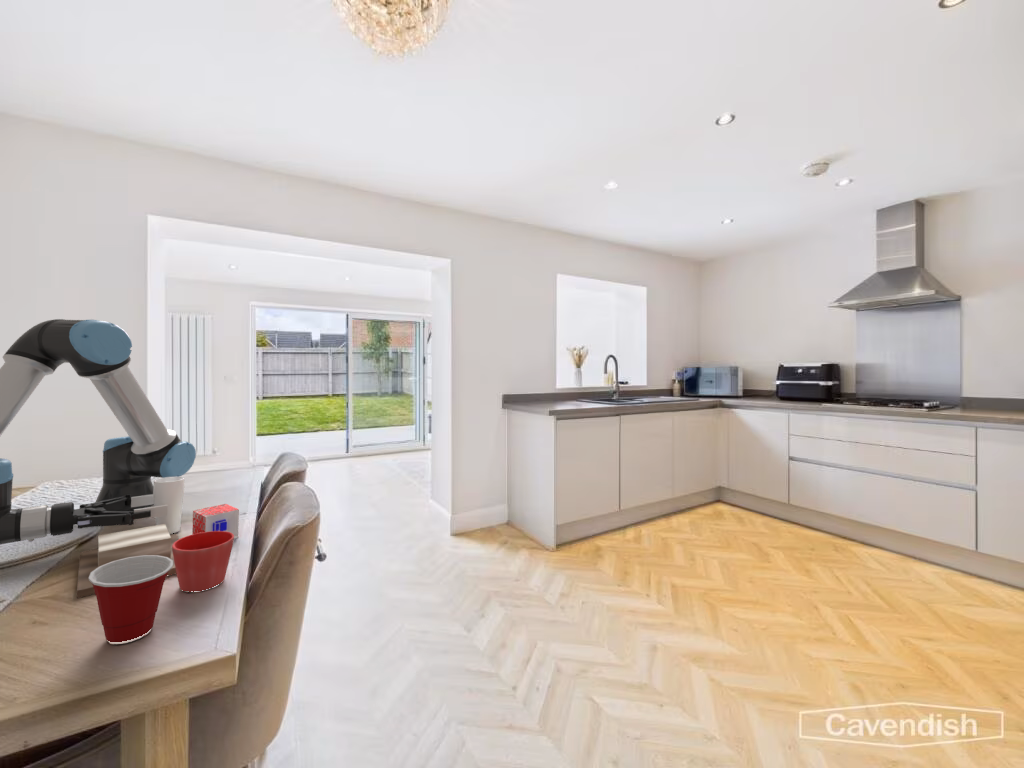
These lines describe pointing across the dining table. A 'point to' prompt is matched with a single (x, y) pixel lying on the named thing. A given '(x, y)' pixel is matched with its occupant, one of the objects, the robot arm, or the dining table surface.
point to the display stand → (124, 551)
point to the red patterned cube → (216, 519)
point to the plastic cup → (129, 594)
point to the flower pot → (202, 559)
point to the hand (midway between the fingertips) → (164, 503)
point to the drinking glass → (169, 501)
